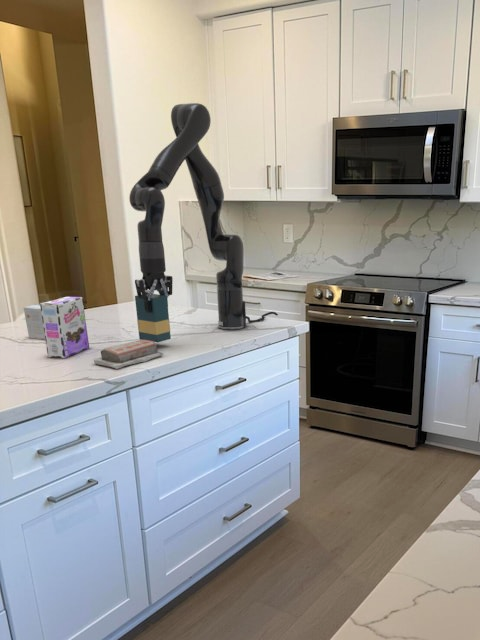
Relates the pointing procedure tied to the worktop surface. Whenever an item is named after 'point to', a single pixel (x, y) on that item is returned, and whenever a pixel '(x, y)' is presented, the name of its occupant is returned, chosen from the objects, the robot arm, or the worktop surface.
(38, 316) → the small box
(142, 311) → the tea box
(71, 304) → the candy box
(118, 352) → the packaged product
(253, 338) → the worktop surface
